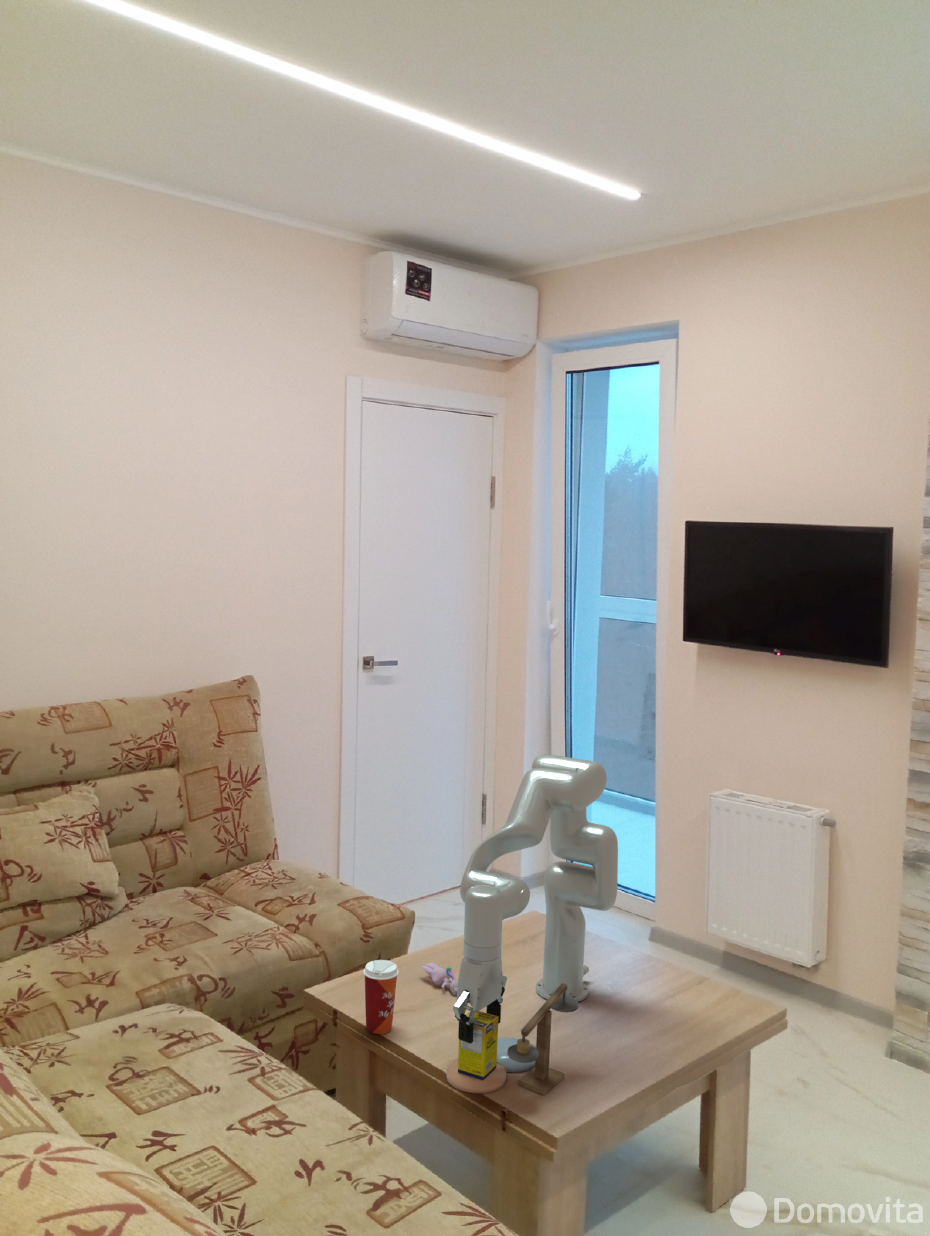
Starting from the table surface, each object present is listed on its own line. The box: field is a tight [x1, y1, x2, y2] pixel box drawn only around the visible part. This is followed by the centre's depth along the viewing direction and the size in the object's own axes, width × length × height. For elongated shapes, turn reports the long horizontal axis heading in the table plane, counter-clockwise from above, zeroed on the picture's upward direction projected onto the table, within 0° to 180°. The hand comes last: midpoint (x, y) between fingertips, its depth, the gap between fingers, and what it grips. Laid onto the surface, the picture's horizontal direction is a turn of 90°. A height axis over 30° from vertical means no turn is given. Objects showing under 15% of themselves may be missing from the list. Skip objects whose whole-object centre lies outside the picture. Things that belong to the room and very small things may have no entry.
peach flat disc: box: [445, 1058, 507, 1095], centre depth 201 cm, size 12×12×1 cm
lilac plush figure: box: [420, 962, 458, 996], centre depth 241 cm, size 6×6×15 cm
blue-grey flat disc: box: [497, 1036, 536, 1073], centre depth 209 cm, size 12×12×1 cm
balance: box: [507, 983, 579, 1096], centre depth 200 cm, size 21×6×18 cm, turn 145°
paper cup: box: [362, 959, 399, 1035], centre depth 219 cm, size 8×8×14 cm
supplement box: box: [457, 1010, 499, 1080], centre depth 201 cm, size 6×6×11 cm
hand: (479, 1031), depth 201 cm, fingers open, 9 cm apart
